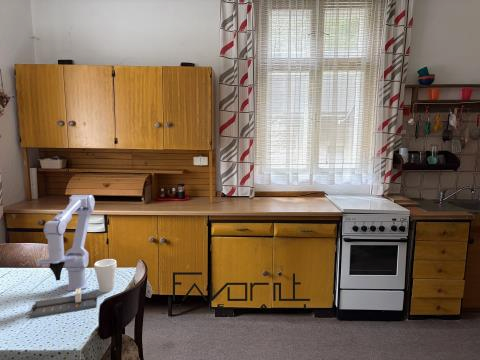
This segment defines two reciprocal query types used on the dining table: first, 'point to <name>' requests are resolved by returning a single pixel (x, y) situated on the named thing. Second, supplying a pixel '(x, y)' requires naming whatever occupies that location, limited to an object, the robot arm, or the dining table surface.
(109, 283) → the foam cup
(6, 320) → the dining table surface
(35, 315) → the console
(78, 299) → the block
